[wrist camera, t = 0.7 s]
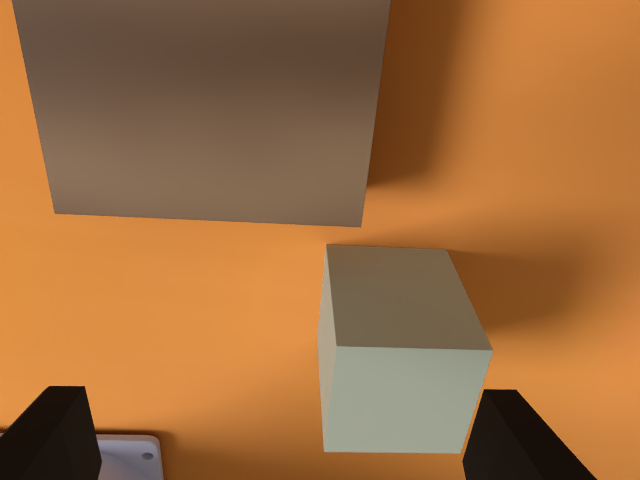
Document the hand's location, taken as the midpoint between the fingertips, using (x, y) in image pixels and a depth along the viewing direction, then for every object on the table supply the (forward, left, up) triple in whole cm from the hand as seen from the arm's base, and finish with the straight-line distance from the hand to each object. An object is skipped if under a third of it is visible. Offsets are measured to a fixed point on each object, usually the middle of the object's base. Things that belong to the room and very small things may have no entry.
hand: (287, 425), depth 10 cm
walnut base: (+5, +2, -10) cm, 12 cm away
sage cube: (-4, -4, -10) cm, 12 cm away
